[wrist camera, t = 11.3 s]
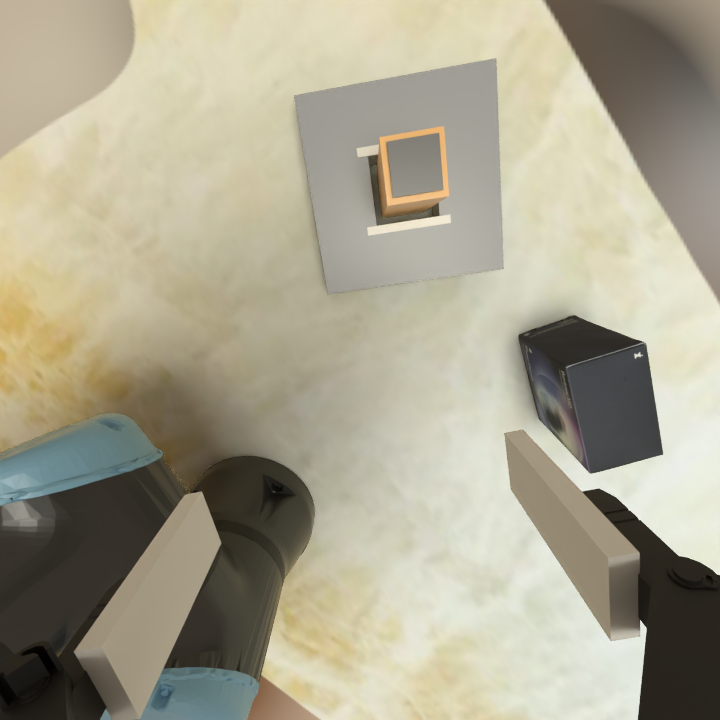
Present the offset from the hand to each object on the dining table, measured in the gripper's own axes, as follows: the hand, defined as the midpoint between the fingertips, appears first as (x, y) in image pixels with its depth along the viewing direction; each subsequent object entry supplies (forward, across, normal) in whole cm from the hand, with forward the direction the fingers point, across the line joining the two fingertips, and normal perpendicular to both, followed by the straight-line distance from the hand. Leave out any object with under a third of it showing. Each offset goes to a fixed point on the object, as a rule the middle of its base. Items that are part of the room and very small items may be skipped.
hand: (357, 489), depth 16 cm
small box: (+24, +20, -7) cm, 32 cm away
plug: (+24, +7, +14) cm, 29 cm away
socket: (+24, +7, +14) cm, 29 cm away
